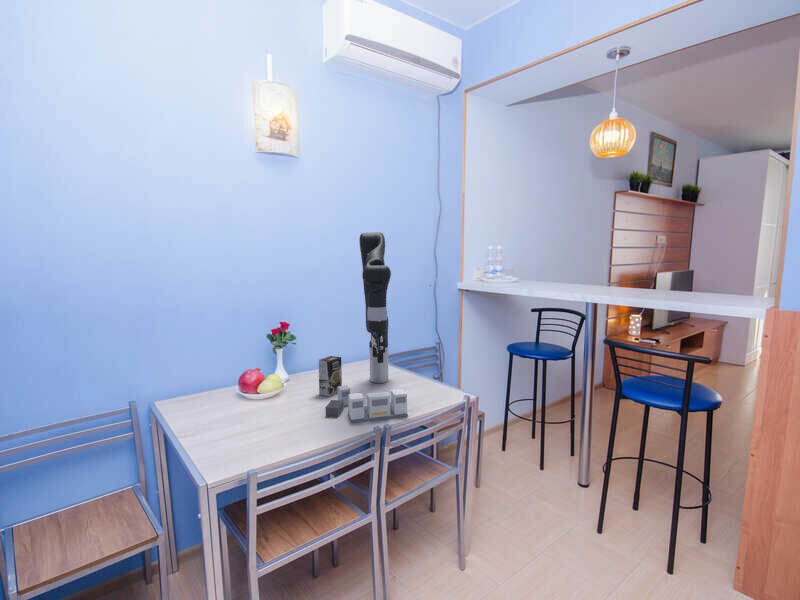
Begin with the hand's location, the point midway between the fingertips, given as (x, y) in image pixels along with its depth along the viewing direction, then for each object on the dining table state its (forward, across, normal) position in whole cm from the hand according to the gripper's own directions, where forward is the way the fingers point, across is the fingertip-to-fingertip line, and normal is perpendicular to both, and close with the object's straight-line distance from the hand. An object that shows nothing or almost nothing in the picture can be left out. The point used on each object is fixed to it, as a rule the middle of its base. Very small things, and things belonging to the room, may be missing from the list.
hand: (377, 359), depth 159 cm
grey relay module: (+23, -17, -11) cm, 31 cm away
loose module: (+22, 0, 0) cm, 22 cm away
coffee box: (+23, -32, -15) cm, 43 cm away
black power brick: (+23, -8, -16) cm, 29 cm away
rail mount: (+23, -1, 0) cm, 23 cm away
